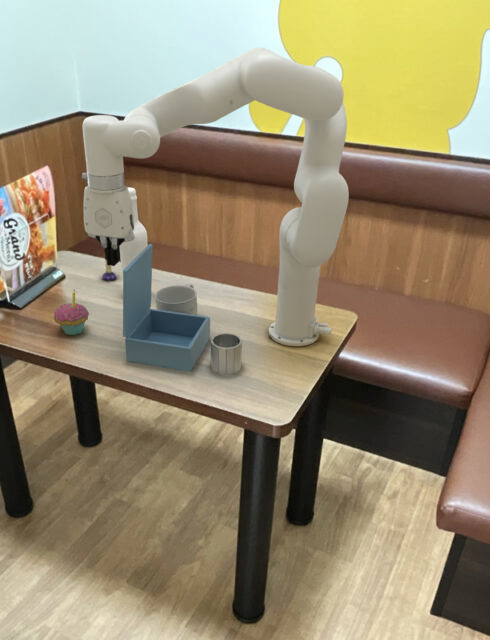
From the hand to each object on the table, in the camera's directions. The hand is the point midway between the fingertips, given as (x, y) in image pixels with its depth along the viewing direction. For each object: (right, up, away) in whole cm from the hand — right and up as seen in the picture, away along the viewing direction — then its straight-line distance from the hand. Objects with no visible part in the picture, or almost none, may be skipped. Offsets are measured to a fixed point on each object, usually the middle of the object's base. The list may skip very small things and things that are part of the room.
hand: (113, 263), depth 136 cm
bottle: (+1, -3, +34) cm, 34 cm away
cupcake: (-13, -14, +18) cm, 26 cm away
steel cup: (+25, -24, +3) cm, 35 cm away
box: (+12, -20, +9) cm, 25 cm away
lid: (+6, -6, +2) cm, 8 cm away
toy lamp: (-8, +4, +44) cm, 45 cm away
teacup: (+14, -10, +23) cm, 29 cm away
